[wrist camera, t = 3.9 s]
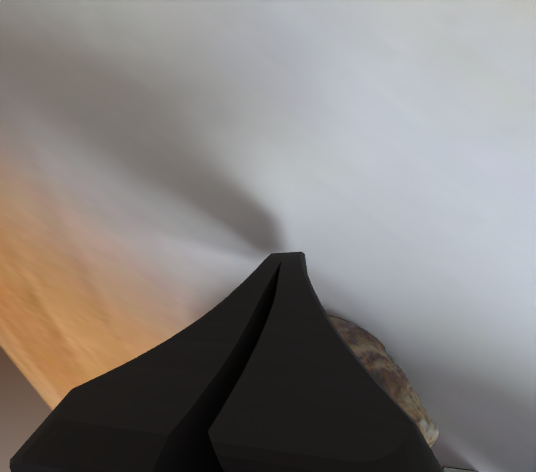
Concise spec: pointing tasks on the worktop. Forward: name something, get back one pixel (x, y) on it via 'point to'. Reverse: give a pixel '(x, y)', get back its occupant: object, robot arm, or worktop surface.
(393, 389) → the oyster shell
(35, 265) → the worktop surface
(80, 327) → the worktop surface
